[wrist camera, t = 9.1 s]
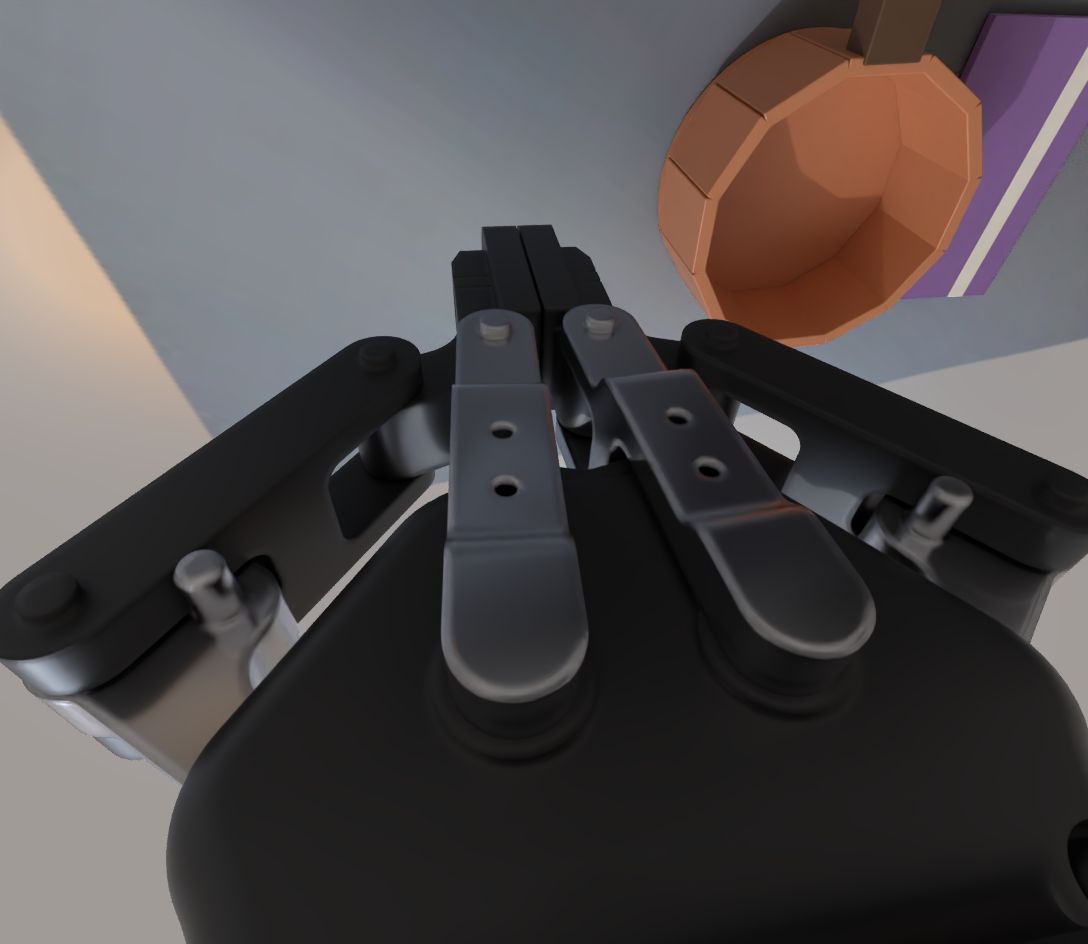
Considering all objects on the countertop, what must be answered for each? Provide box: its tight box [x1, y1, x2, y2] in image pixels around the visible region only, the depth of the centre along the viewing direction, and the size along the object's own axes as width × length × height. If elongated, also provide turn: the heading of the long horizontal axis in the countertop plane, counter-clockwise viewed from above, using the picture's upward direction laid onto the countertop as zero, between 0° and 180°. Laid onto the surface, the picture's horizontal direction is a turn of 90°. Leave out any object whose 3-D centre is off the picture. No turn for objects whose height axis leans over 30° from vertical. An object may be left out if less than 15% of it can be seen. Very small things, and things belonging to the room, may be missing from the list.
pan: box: [658, 0, 983, 348], centre depth 20 cm, size 17×10×5 cm, turn 0°
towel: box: [900, 13, 1088, 299], centre depth 26 cm, size 11×6×1 cm, turn 178°
